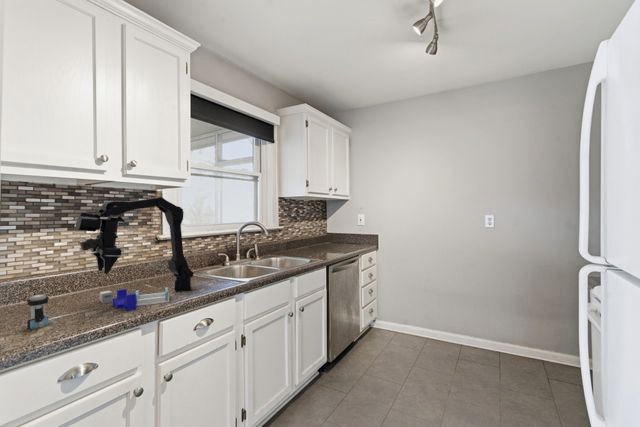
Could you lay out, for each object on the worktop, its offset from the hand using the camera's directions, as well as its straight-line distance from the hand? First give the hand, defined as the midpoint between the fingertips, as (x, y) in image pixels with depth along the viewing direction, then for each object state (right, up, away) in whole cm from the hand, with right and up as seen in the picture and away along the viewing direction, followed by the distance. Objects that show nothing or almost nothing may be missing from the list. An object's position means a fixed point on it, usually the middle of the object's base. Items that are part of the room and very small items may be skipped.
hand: (103, 272), depth 121 cm
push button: (-7, -14, -19) cm, 25 cm away
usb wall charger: (-5, -14, +8) cm, 17 cm away
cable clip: (+9, -14, 0) cm, 16 cm away
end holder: (+15, -14, +8) cm, 22 cm away
